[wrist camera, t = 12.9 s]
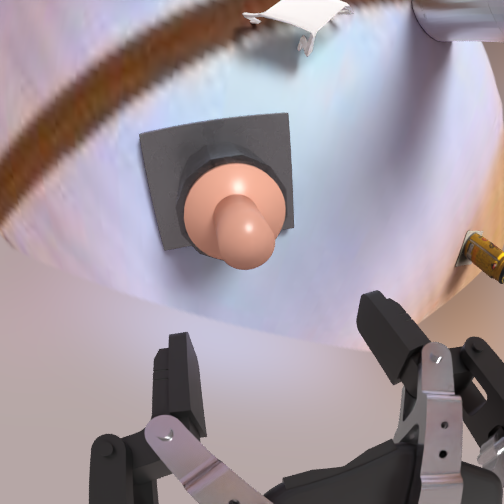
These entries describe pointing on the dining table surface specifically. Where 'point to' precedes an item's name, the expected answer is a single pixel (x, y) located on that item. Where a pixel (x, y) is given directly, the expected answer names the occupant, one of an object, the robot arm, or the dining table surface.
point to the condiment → (482, 255)
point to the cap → (235, 214)
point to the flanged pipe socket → (212, 163)
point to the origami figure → (304, 16)
